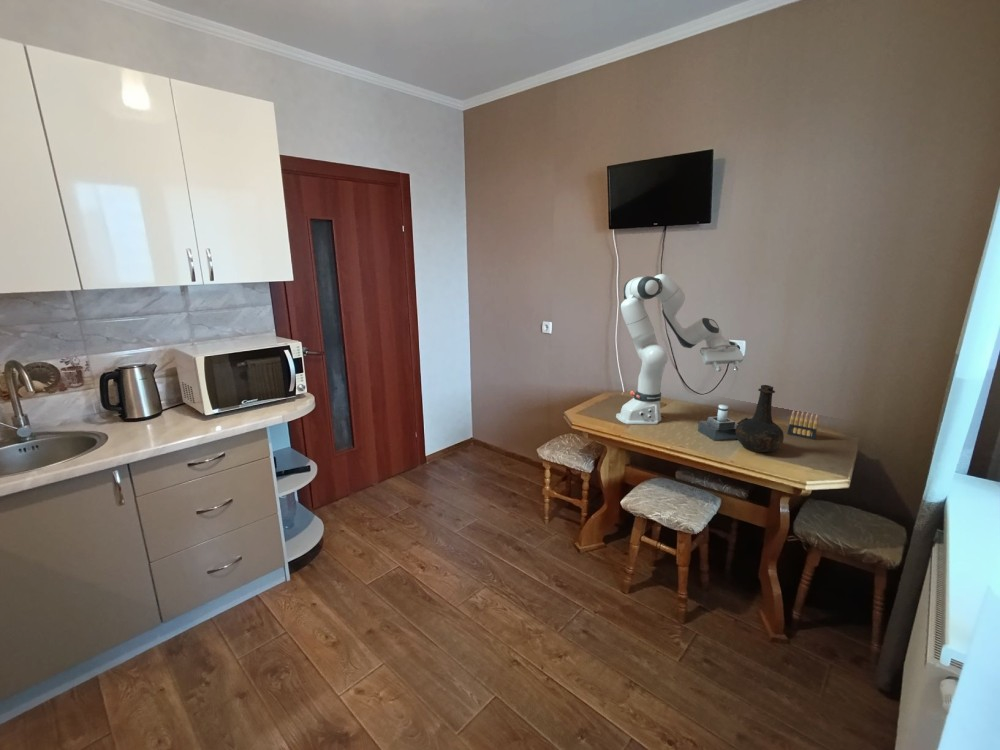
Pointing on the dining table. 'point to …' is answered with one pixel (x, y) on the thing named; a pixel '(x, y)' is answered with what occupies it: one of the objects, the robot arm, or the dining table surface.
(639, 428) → the dining table surface
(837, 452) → the dining table surface
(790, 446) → the dining table surface
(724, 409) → the dome-capped cylinder
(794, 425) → the ammunition clip
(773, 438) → the glass bottle
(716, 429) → the square socket base
